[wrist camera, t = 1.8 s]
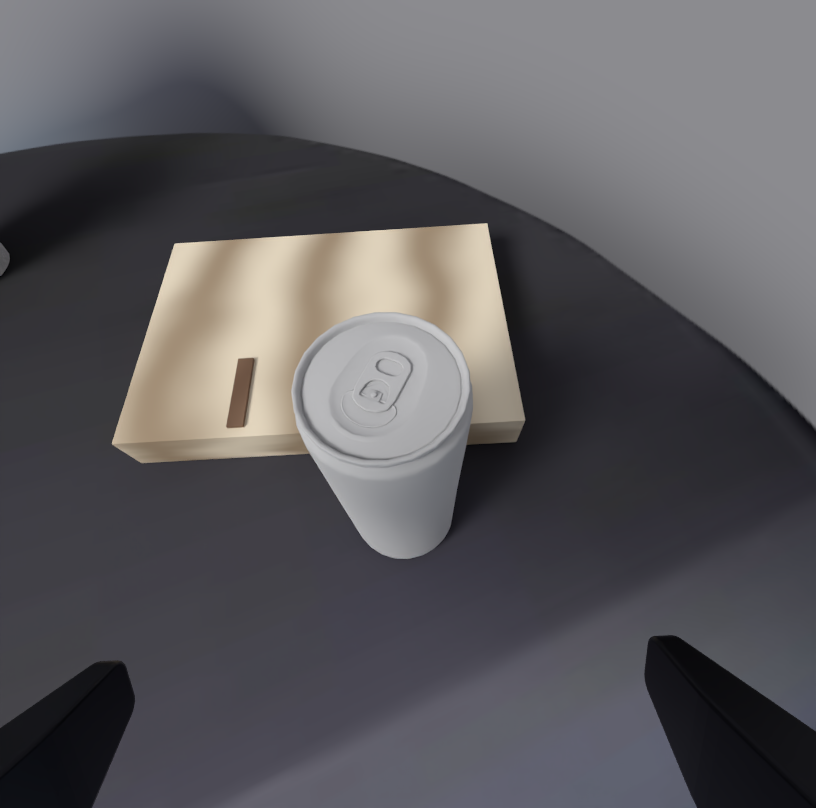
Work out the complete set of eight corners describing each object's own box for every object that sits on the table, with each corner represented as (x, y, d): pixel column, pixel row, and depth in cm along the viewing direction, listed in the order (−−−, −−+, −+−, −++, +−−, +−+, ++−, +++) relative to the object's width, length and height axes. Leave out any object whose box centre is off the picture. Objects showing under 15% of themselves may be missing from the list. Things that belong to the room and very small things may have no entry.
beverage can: (338, 535, 21) (247, 426, 11) (381, 450, 23) (341, 288, 13) (430, 579, 20) (432, 504, 9) (467, 485, 22) (502, 338, 11)
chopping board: (482, 254, 30) (487, 220, 27) (516, 441, 23) (526, 418, 21) (193, 273, 30) (172, 241, 28) (141, 463, 23) (108, 442, 21)
